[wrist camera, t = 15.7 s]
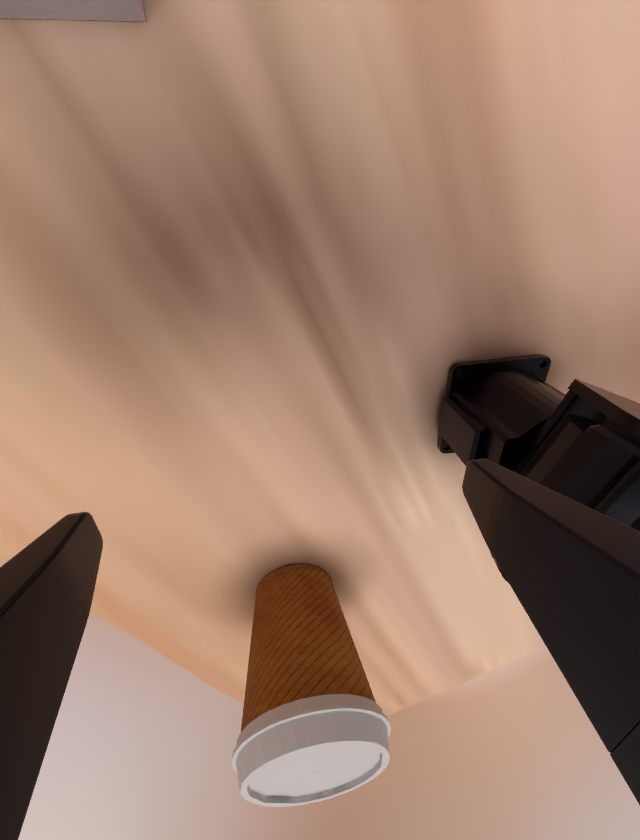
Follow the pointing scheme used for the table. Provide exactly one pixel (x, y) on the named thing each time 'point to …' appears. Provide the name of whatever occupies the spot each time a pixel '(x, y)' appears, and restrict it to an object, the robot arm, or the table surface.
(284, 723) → the disposable coffee cup
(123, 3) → the grey rectangular block
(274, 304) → the table surface
